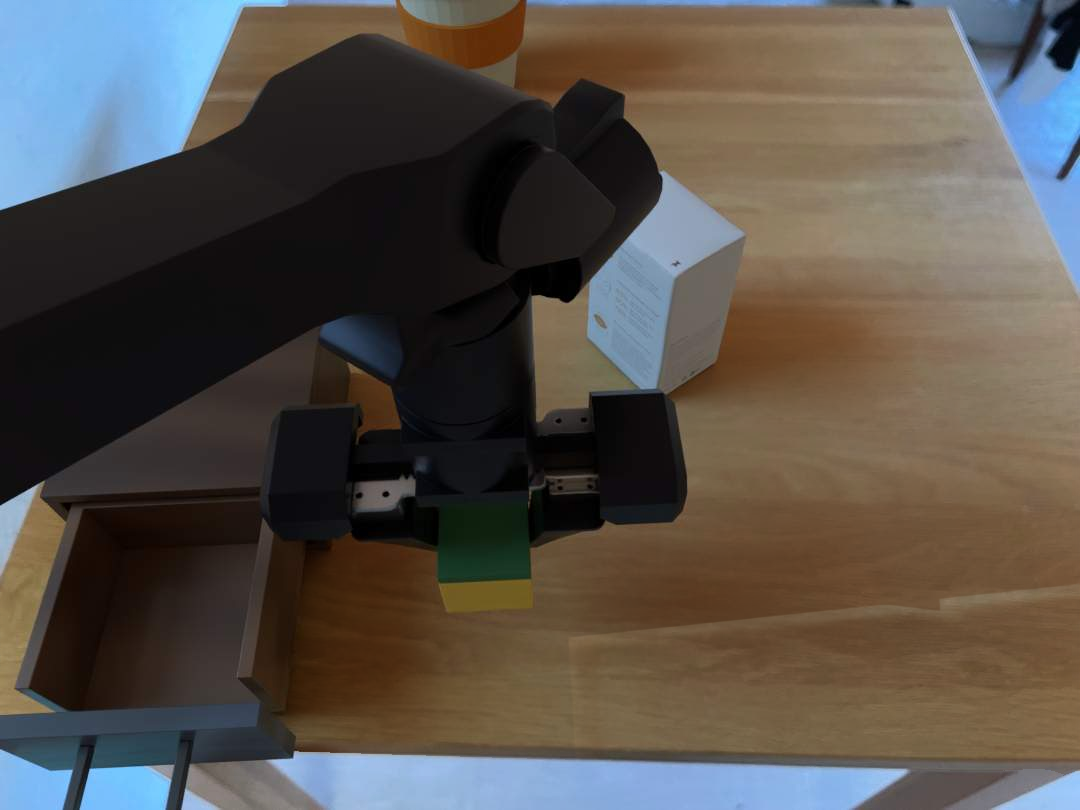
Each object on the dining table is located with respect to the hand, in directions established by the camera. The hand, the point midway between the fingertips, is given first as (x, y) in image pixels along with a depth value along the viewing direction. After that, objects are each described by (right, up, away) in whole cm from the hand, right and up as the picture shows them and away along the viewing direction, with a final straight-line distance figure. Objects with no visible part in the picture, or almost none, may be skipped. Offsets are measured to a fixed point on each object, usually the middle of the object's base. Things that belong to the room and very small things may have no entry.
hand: (488, 541), depth 45 cm
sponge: (0, -1, +1) cm, 1 cm away
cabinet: (-18, +4, +13) cm, 23 cm away
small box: (+11, +11, +18) cm, 24 cm away
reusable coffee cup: (-4, +39, +38) cm, 55 cm away
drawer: (-18, -9, +3) cm, 20 cm away
